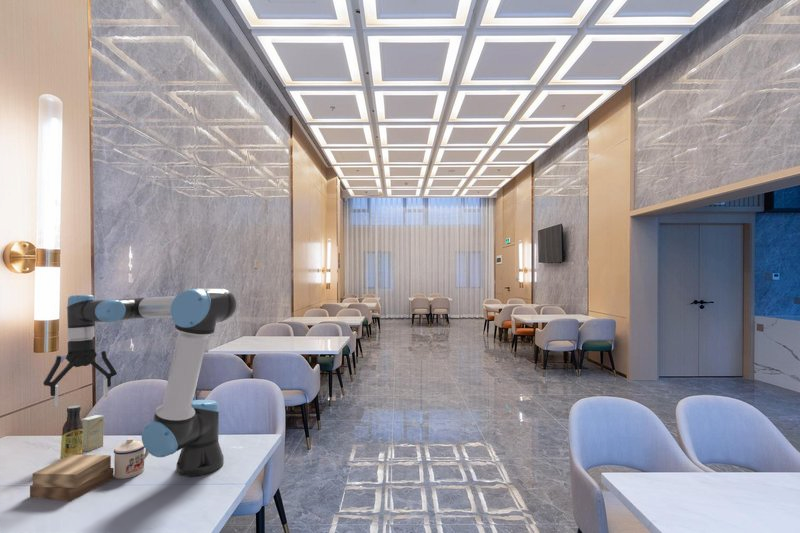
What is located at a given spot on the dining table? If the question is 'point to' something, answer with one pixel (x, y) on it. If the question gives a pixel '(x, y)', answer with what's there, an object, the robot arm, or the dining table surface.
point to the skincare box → (92, 432)
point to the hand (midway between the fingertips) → (81, 400)
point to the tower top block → (71, 471)
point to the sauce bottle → (72, 433)
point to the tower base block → (71, 493)
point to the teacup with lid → (129, 459)
